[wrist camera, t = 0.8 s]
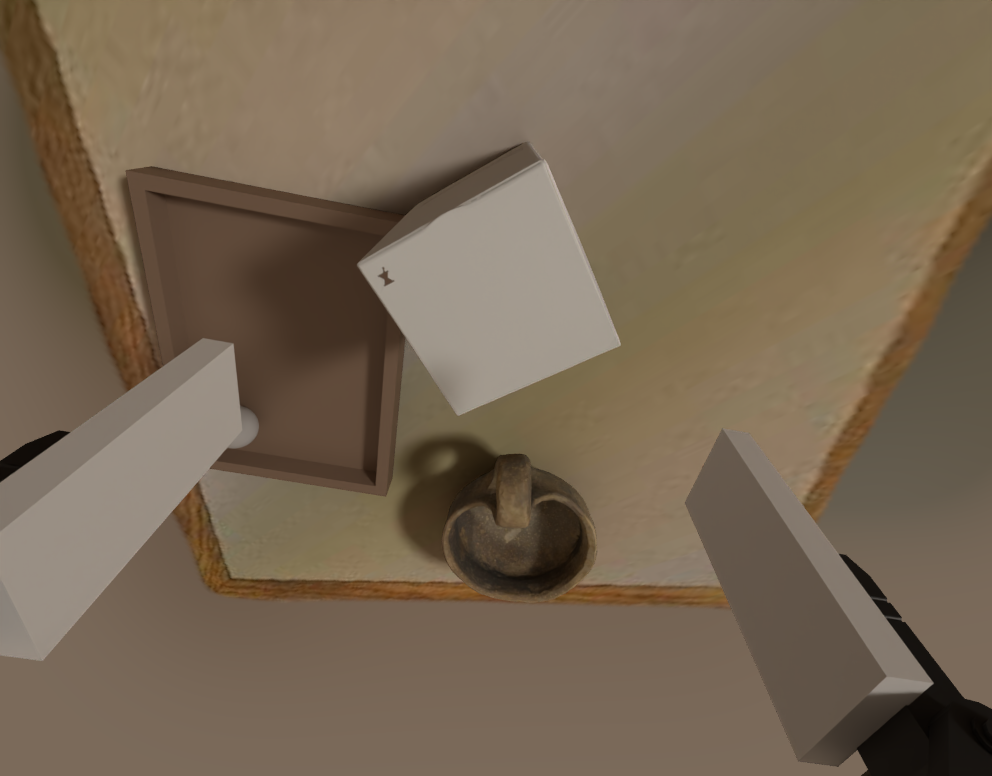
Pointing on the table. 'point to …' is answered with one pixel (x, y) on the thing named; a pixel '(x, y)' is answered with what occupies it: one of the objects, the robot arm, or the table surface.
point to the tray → (279, 320)
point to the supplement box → (492, 282)
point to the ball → (246, 429)
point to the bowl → (519, 533)
